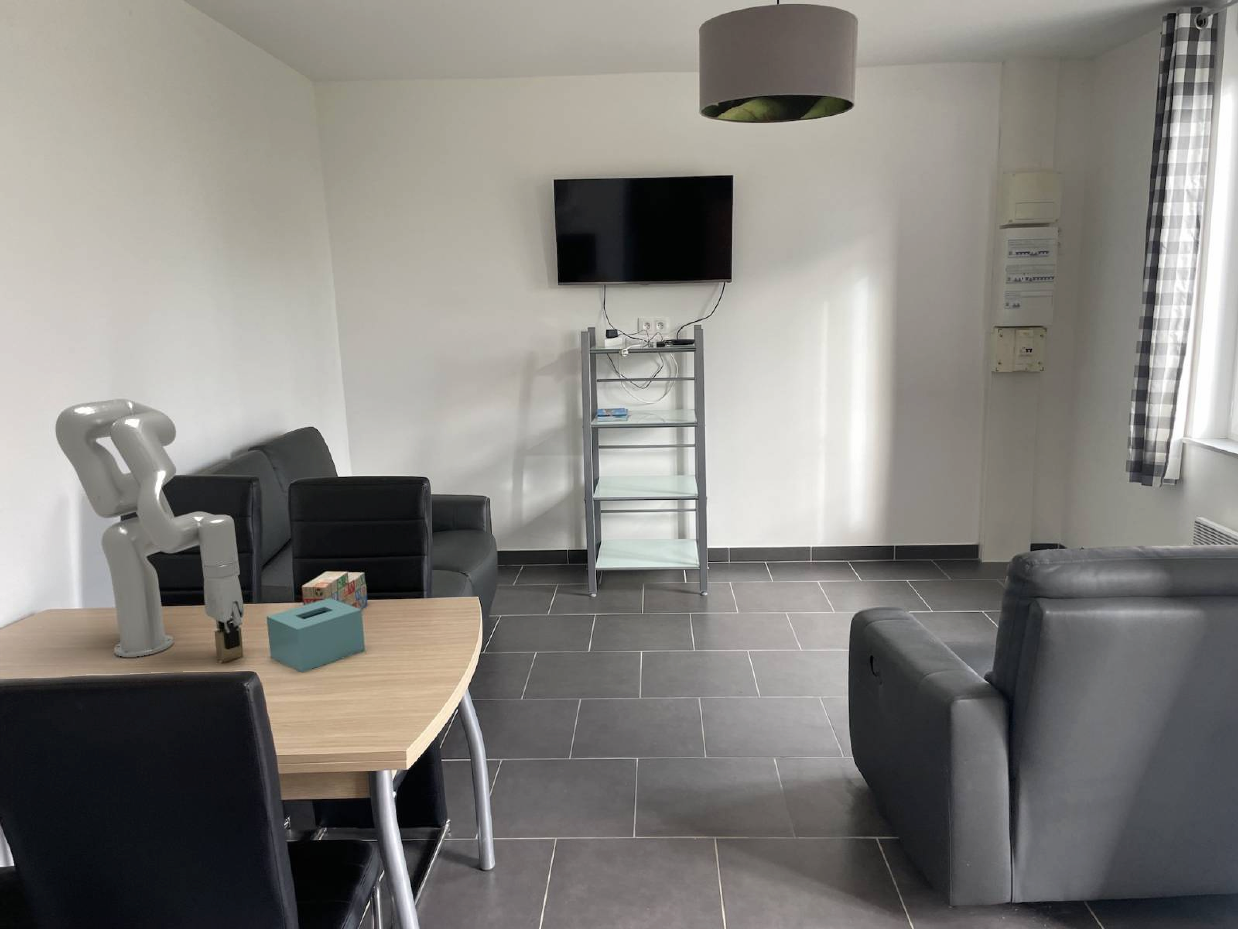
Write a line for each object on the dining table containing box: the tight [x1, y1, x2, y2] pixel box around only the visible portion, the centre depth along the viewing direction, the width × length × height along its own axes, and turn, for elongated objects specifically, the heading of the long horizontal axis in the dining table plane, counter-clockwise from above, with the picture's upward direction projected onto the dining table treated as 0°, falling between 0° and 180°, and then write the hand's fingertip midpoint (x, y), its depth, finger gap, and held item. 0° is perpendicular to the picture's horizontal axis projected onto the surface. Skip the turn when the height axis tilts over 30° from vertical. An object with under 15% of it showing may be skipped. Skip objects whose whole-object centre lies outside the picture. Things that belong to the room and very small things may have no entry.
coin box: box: [266, 598, 366, 673], centre depth 206 cm, size 14×16×10 cm
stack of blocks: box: [301, 571, 368, 610], centre depth 230 cm, size 21×6×12 cm, turn 169°
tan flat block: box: [214, 626, 244, 663], centre depth 205 cm, size 2×5×7 cm, turn 139°
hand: (229, 645), depth 205 cm, fingers closed on tan flat block, 2 cm apart
